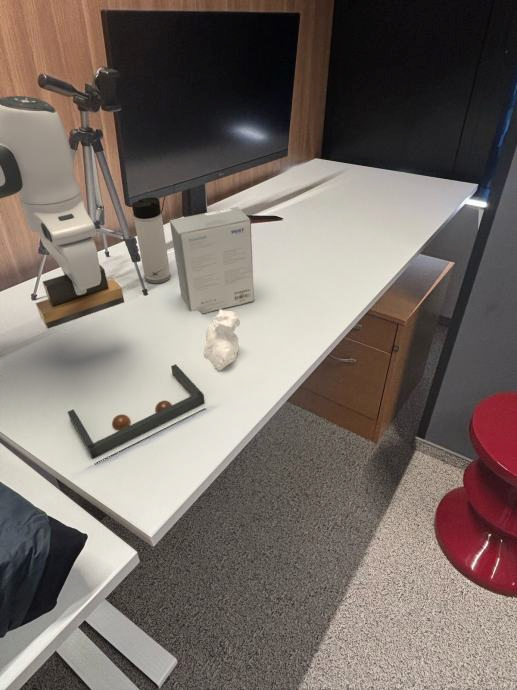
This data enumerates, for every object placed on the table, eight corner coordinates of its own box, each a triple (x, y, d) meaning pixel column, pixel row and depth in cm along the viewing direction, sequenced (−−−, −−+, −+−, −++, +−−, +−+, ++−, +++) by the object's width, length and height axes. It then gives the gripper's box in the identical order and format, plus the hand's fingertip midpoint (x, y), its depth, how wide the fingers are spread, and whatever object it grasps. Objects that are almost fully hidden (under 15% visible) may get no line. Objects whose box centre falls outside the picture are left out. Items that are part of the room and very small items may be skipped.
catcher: (94, 464, 74) (89, 450, 72) (72, 426, 81) (67, 411, 79) (205, 409, 83) (203, 394, 81) (178, 378, 90) (175, 363, 88)
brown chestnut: (108, 416, 78) (108, 422, 80) (117, 432, 77) (116, 438, 79) (126, 408, 79) (125, 414, 81) (134, 424, 78) (133, 430, 81)
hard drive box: (242, 286, 116) (239, 206, 103) (255, 301, 110) (252, 219, 98) (180, 300, 111) (168, 218, 99) (189, 317, 105) (178, 233, 93)
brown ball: (157, 410, 79) (150, 402, 81) (162, 424, 80) (154, 416, 83) (174, 402, 80) (166, 394, 83) (177, 416, 82) (170, 408, 84)
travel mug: (161, 286, 116) (148, 207, 104) (139, 280, 119) (124, 201, 106) (176, 275, 120) (166, 197, 108) (155, 269, 123) (143, 192, 111)
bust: (230, 385, 91) (265, 342, 87) (197, 373, 87) (231, 327, 83) (218, 348, 100) (248, 307, 96) (187, 335, 96) (217, 291, 92)
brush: (47, 329, 82) (35, 293, 78) (40, 318, 85) (28, 282, 80) (124, 302, 88) (117, 267, 84) (116, 293, 91) (108, 259, 87)
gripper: (17, 196, 80) (41, 270, 89) (55, 240, 67) (79, 321, 76) (55, 188, 83) (74, 260, 92) (99, 228, 70) (117, 308, 79)
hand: (77, 288), depth 84 cm, fingers closed on brush, 2 cm apart
